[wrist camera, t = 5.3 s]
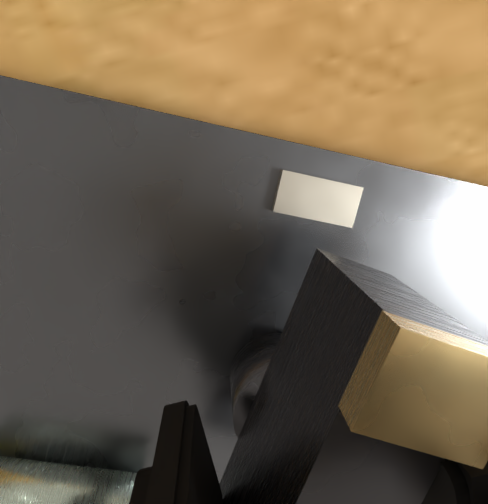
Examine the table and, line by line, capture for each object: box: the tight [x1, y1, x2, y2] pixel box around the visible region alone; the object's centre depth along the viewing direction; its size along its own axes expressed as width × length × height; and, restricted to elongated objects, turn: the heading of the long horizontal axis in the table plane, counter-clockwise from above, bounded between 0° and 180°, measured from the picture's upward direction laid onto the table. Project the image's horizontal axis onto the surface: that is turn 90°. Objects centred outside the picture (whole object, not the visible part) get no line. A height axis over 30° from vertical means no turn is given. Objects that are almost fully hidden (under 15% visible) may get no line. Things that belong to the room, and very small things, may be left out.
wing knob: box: [219, 248, 488, 504], centre depth 10 cm, size 9×3×7 cm, turn 160°
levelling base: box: [0, 75, 488, 504], centre depth 13 cm, size 18×14×4 cm
